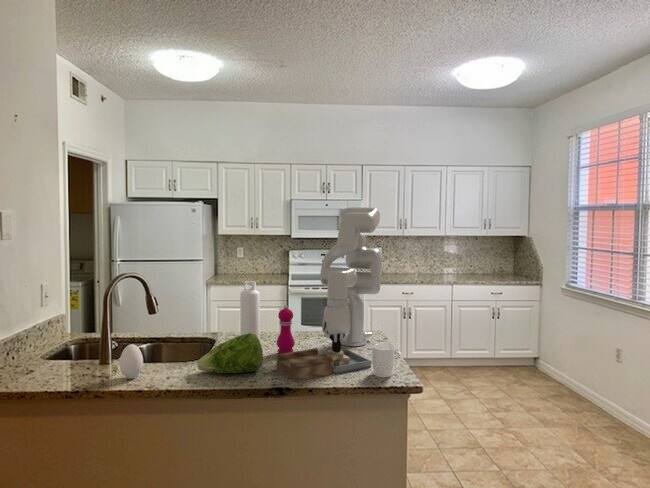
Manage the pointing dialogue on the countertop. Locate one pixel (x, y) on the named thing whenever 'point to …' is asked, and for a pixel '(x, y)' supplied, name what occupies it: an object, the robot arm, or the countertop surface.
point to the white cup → (383, 359)
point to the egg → (131, 361)
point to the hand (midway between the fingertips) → (336, 351)
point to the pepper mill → (285, 331)
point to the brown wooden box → (304, 364)
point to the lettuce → (234, 356)
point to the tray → (351, 362)
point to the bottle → (250, 310)
